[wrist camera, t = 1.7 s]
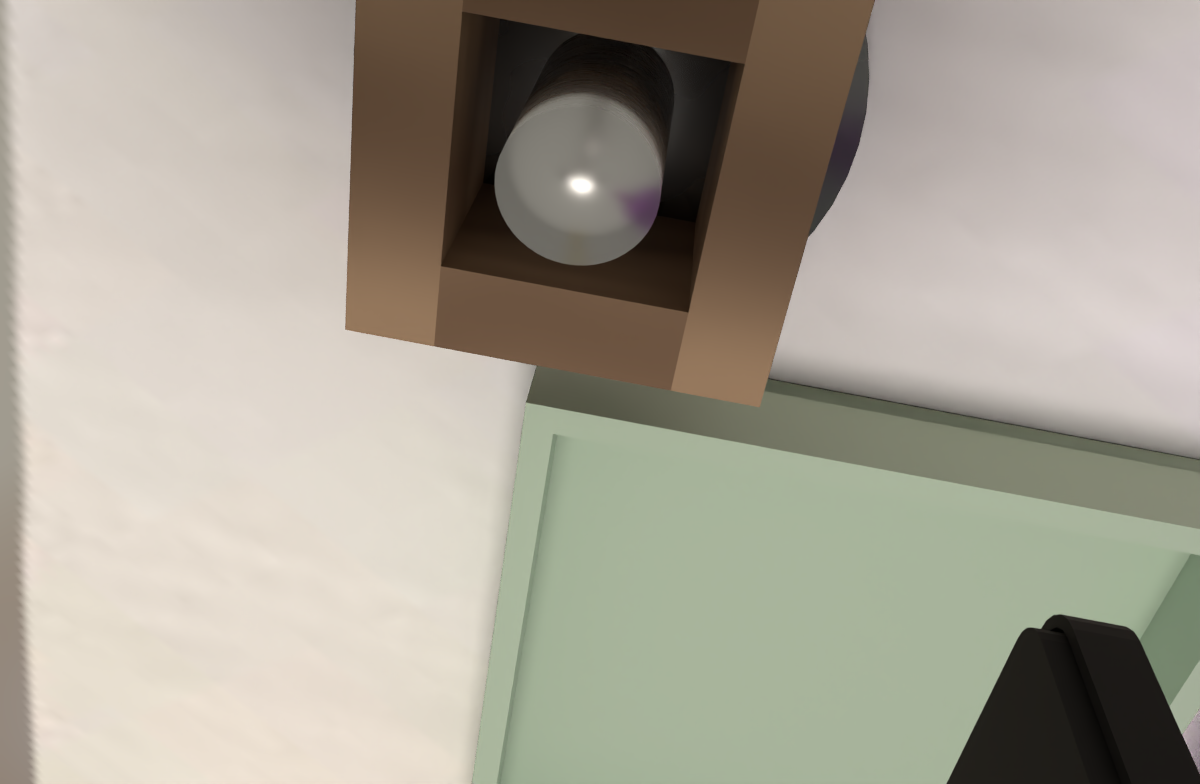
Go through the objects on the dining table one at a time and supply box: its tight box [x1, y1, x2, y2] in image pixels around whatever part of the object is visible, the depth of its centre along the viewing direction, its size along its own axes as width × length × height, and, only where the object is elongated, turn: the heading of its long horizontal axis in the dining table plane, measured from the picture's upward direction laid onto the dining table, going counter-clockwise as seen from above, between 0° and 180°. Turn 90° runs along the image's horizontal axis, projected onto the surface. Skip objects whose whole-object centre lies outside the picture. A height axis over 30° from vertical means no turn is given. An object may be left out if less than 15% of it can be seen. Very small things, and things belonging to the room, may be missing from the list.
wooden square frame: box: [345, 0, 875, 407], centre depth 18 cm, size 7×7×4 cm
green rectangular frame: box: [472, 366, 1200, 784], centre depth 26 cm, size 15×15×2 cm
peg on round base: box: [483, 19, 869, 265], centre depth 18 cm, size 9×9×5 cm
